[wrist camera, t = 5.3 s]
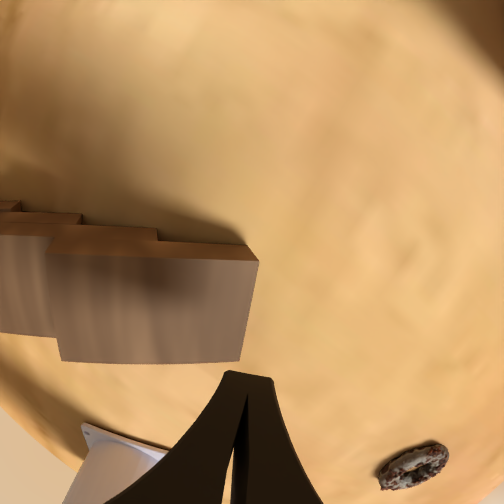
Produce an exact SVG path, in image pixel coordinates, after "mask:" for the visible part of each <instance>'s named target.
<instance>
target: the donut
mask: <svg viewBox="0 0 504 504" xmlns="http://www.w3.org/2000/svg"><path fill="white" fill-rule="evenodd" d="M448 458H449V452H448V449H447V448H446V447H445V446H443V445H439V444H437V445H434V446H428V447H422V448H414V449H412V450H410V451H406V452H405V453H403V455H402V456H401V457H400V458H398V459H395V460H394V459H393V460H391V461H390V462H389V463H388V464H387V465H385V467H384V468H383V469H382V470H381V471H380V474H379V477H378V480H379V484H380V486H381V490H382V491H383V490H388V489H391V490H393V491H394V490H398V489H406V488H410V487H413V486H416V485H419V484H421V483H423V482H425V481H427V480H429V479H430V478H431V477H434V476H436V474H438V473H440V471H441V470H442V468H443V467H445V465H446V463H447V461H448ZM420 465H424V466H422V467H419V468H418V469H417V470H415V471H412V472H408V473H405V472H406V471H407V470H409V469H411V468H412V467H418V466H420Z"/></svg>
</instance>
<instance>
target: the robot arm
mask: <svg viewBox="0 0 504 504" xmlns="http://www.w3.org/2000/svg"><path fill="white" fill-rule="evenodd" d="M81 429H82V432H83V435H84V438H85V440H86V443H87V446H88V448H89V452H88V454H87V456H86V458H85V460H84V462H83V464H82V466H81V467H80V469H79V471H78V473H77V475H76V477H75V479H74V481H73V483H72V485H71V487H70V489H69V491H68V493H67V495H66V497H65V499H64V501H63V503H62V504H221V503H222V497H223V491H224V485H225V479H226V473H227V468H228V465H229V462H230V458H231V455H232V451H233V448H234V454H233V469H232V485H231V500H230V504H323V502H322V501H321V499H320V497H319V496H318V494H317V493H316V491H315V489H314V487H313V486H312V484H311V482H310V480H309V479H308V477H307V475H306V473H305V471H304V469H303V467H302V465H301V463H300V460H299V458H298V456H297V454H296V452H295V449H294V447H293V445H292V442H291V440H290V437H289V434H288V432H287V429H286V426H285V423H284V420H283V417H282V414H281V411H280V408H279V404H278V400H277V396H276V392H275V387H274V381H273V380H272V379H271V378H269V377H264V376H258V375H252V374H247V373H241V372H236V371H231V370H228V371H226V372H224V375H223V378H222V380H221V382H220V384H219V386H218V388H217V390H216V391H215V393H214V395H213V396H212V398H211V400H210V401H209V403H208V404H207V406H206V407H205V408H204V410H203V411H202V413H201V414H200V415H199V417H198V418H197V419H196V421H195V422H194V423H193V425H192V426H191V427H190V428H189V429H188V431H187V432H186V433H185V434H184V435H183V436H182V438H181V439H180V440H179V441H178V442H177V443H176V444H175V445H174V446H173V448H172V449H171V450H170V451H167V450H163V449H159V448H156V447H153V446H149V445H146V444H143V443H140V442H137V441H134V440H131V439H128V438H125V437H122V436H119V435H116V434H113V433H111V432H108V431H105V430H103V429H100V428H98V427H95V426H93V425H90V424H88V423H82V425H81Z"/></svg>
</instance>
